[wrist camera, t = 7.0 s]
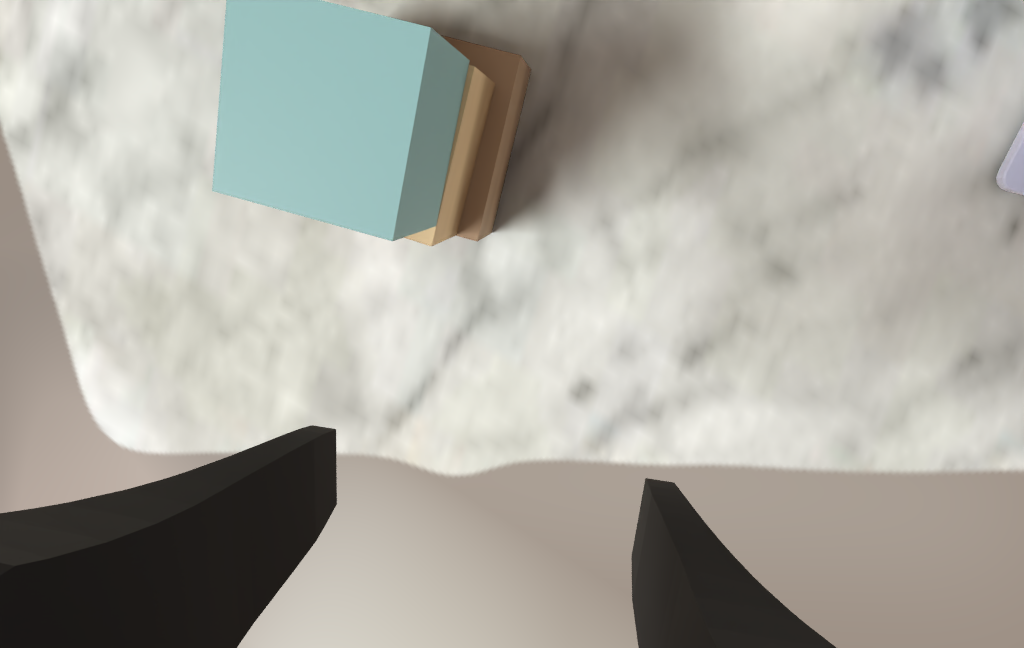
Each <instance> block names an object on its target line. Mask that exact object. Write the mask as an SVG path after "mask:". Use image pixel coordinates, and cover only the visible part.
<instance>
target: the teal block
mask: <svg viewBox="0 0 1024 648" xmlns="http://www.w3.org/2000/svg"><path fill="white" fill-rule="evenodd" d="M469 62H470V60H469V59H467V58H466V57H465V56H464V55H463V54H462V53H460V52H459V51H458V50H457V49H456V48H455V47H453V46H452V45H451V44H450V43H449V42H447V41H446V40H445V39H444V38H443V37H442V36H440V35H439V34H438V33H437V32H436V31H435V30H433V29H432V28H431V27H427V26H423V25H419V24H415V23H411V22H407V21H403V20H399V19H395V18H390V17H386V16H382V15H378V14H374V13H370V12H366V11H362V10H358V9H354V8H350V7H346V6H342V5H338V4H333V3H329V2H325V1H321V0H227V2H226V15H225V28H224V42H223V55H222V68H221V82H220V95H219V108H218V122H217V135H216V148H215V162H214V175H213V188H212V191H214V192H218V193H222V194H225V195H229V196H232V197H236V198H240V199H243V200H247V201H250V202H254V203H257V204H261V205H265V206H268V207H272V208H275V209H279V210H283V211H286V212H290V213H293V214H297V215H301V216H304V217H308V218H311V219H315V220H318V221H322V222H326V223H329V224H333V225H336V226H340V227H344V228H347V229H351V230H354V231H358V232H362V233H365V234H369V235H372V236H376V237H379V238H383V239H387V240H390V241H394V240H397V239H400V238H403V237H406V236H409V235H412V234H415V233H418V232H421V231H424V230H427V229H429V228H432V227H435V226H436V224H437V219H438V214H439V210H440V205H441V200H442V195H443V190H444V185H445V180H446V175H447V170H448V165H449V160H450V155H451V150H452V145H453V141H454V136H455V131H456V126H457V121H458V116H459V111H460V106H461V101H462V96H463V91H464V86H465V81H466V76H467V71H468V67H469Z"/></svg>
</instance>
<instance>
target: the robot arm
mask: <svg viewBox="0 0 1024 648" xmlns="http://www.w3.org/2000/svg"><path fill="white" fill-rule="evenodd" d="M996 180H997V184H998V186H999V187H1000V188H1001V189H1003V190H1005V191H1008V192H1012V193H1016V194H1020V195H1023V196H1024V122H1023V124H1022V126H1021V128H1020V130H1019V132H1018V134H1017V136H1016V138H1015V140H1014V142H1013V144H1012V146H1011V147H1010V149H1009V151H1008V153H1007V155H1006V157H1005V159H1004V161H1003V163H1002V165H1001V167H1000V169H999V171H998V173H997V177H996ZM336 497H337V493H336V429H331V428H325V427H318V426H308V427H305V428H301V429H298V430H296V431H293V432H290V433H287V434H285V435H282V436H280V437H277V438H275V439H272V440H270V441H267V442H265V443H262V444H260V445H257V446H254V447H252V448H249V449H247V450H244V451H242V452H239V453H237V454H234V455H232V456H229V457H226V458H224V459H221V460H218V461H215V462H213V463H210V464H207V465H204V466H202V467H199V468H196V469H193V470H191V471H188V472H185V473H182V474H179V475H176V476H172V477H170V478H166V479H163V480H160V481H156V482H152V483H149V484H145V485H142V486H138V487H135V488H131V489H127V490H123V491H118V492H114V493H110V494H105V495H100V496H96V497H91V498H87V499H83V500H78V501H74V502H69V503H63V504H58V505H52V506H46V507H40V508H35V509H28V510H21V511H14V512H7V513H0V648H237V646H238V645H239V643H240V642H241V640H242V639H243V638H244V636H245V635H246V633H247V632H248V630H249V629H250V628H251V626H252V625H253V623H254V622H255V621H256V619H257V618H258V616H260V614H261V613H262V612H263V610H264V609H265V608H266V606H267V605H268V604H269V602H270V601H271V600H272V599H273V597H274V596H275V595H276V593H277V592H278V591H279V589H280V588H281V587H282V585H283V584H284V583H285V582H286V580H287V579H288V578H289V576H290V575H291V574H292V572H293V571H294V570H295V568H296V567H297V566H298V564H299V563H300V562H301V560H302V559H303V558H304V556H305V555H306V554H307V552H308V551H309V550H310V548H311V547H312V546H313V544H314V543H315V542H316V540H317V538H318V536H319V535H320V533H321V532H322V530H323V528H324V526H325V525H326V523H327V521H328V519H329V517H330V515H331V514H332V512H333V510H334V508H335V506H336V504H337V498H336ZM632 601H633V609H634V615H635V624H636V631H637V639H638V645H639V648H836V647H835V646H834V645H832V644H831V643H830V642H828V641H827V640H826V639H825V638H823V637H822V636H821V635H819V634H818V633H817V632H815V631H814V630H813V629H812V628H810V627H809V626H808V625H806V624H805V623H804V622H803V621H802V620H800V619H799V618H798V617H797V616H796V615H794V614H793V613H792V612H791V611H790V610H789V609H788V608H786V607H785V606H784V605H783V604H782V603H781V602H780V601H779V600H778V599H776V598H775V597H774V596H773V595H772V594H771V593H770V592H769V591H768V590H766V589H765V588H764V587H763V586H762V585H761V584H760V583H759V582H758V581H757V580H756V579H755V578H754V577H753V576H752V575H751V574H750V573H749V572H748V571H747V570H746V569H745V568H744V566H743V565H742V564H741V563H740V562H739V561H738V560H737V559H736V558H735V557H734V556H733V555H732V554H731V553H730V551H729V550H728V549H727V548H726V547H725V546H724V545H723V544H722V543H721V541H720V540H719V539H718V538H717V537H716V535H715V534H714V533H713V532H712V531H711V530H710V528H709V527H708V526H707V525H706V523H705V522H704V521H703V520H702V518H701V517H700V516H699V514H698V513H697V512H696V511H695V509H694V508H693V507H692V505H691V504H690V503H689V501H688V500H687V499H686V498H685V496H684V495H683V494H682V492H681V491H680V490H679V488H678V487H677V486H676V485H675V483H672V482H666V481H660V480H653V479H647V478H646V479H645V485H644V491H643V495H642V501H641V507H640V513H639V518H638V524H637V530H636V535H635V541H634V546H633V552H632Z"/></svg>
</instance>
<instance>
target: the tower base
mask: <svg viewBox="0 0 1024 648" xmlns="http://www.w3.org/2000/svg"><path fill="white" fill-rule="evenodd" d="M440 36H442V35H440ZM442 37H443V38H444V39H445V40H446V41H447V42H449V43H450V44H451V45H452V46H453V47H455V48H456V49H457V50H458V51H459V52H460V53H462V54H463V55H464V56H465V57H466V58H467V59H469V60H470V62H469V65H472V66H475V67H476V68H477V69H479V70H480V71H481V72H482V73H483V74H485V75H486V76H487V77H488V78H489V79H491V80H492V81H493V82H494V83H495V87H494V91H493V95H492V99H491V103H490V107H489V111H488V115H487V119H486V123H485V127H484V131H483V135H482V138H481V142H480V146H479V150H478V154H477V158H476V162H475V166H474V170H473V174H472V178H471V182H470V186H469V190H468V194H467V197H466V201H465V205H464V209H463V213H462V217H461V221H460V225H459V229H458V233H457V235H456V236H460V237H463V238H467V239H470V240H474V241H479V240H480V239H482V238H484V237H485V236H487V235H489V234H491V233H492V230H493V226H494V221H495V217H496V213H497V209H498V205H499V201H500V197H501V193H502V188H503V184H504V180H505V176H506V172H507V168H508V164H509V160H510V156H511V151H512V147H513V143H514V139H515V135H516V131H517V127H518V123H519V118H520V114H521V110H522V106H523V102H524V98H525V94H526V90H527V86H528V81H529V77H530V73H531V69H530V67H529V66H528V65H527V63H526V62H525V61H524V59H523V58H522V56H521V55H517V54H513V53H509V52H505V51H501V50H497V49H493V48H489V47H485V46H481V45H477V44H473V43H470V42H466V41H462V40H458V39H454V38H450V37H446V36H442Z"/></svg>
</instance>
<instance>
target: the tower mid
mask: <svg viewBox="0 0 1024 648" xmlns="http://www.w3.org/2000/svg"><path fill="white" fill-rule="evenodd" d="M494 87H495V83H494V82H493V81H492V80H491V79H489V78H488V77H487V76H486V75H485V74H483V73H482V72H481V71H480V70H479V69H477V68H476V67H475V66H472V65H469V67H468V71H467V76H466V81H465V86H464V91H463V96H462V101H461V106H460V111H459V116H458V121H457V126H456V131H455V136H454V141H453V145H452V150H451V155H450V160H449V165H448V170H447V175H446V180H445V185H444V190H443V195H442V200H441V205H440V210H439V214H438V219H437V224H436V226H435V227H432V228H429V229H427V230H424V231H421V232H418V233H415V234H412V235H409V236H406V237H404V238H407V239H410V240H413V241H416V242H420V243H423V244H426V245H429V246H433V245H435V244H438V243H440V242H442V241H444V240H446V239H449V238H451V237H453V236H455V235H457V233H458V229H459V225H460V221H461V217H462V213H463V209H464V205H465V201H466V197H467V194H468V190H469V186H470V182H471V178H472V174H473V170H474V166H475V162H476V158H477V154H478V150H479V146H480V142H481V138H482V135H483V131H484V127H485V123H486V119H487V115H488V111H489V107H490V103H491V99H492V95H493V91H494Z"/></svg>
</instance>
